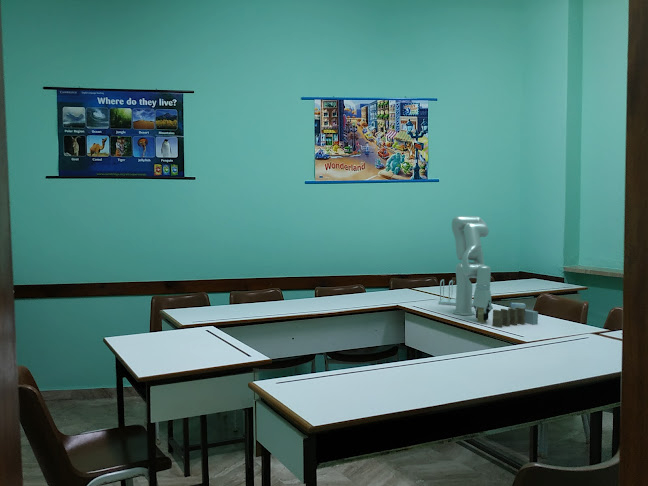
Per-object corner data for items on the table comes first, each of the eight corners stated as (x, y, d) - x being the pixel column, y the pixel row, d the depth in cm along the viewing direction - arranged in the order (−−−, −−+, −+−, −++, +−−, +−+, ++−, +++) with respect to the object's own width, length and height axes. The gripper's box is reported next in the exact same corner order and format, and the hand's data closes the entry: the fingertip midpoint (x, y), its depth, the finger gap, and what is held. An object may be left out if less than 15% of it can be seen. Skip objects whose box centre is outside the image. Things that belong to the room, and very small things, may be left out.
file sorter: (479, 303, 426) (480, 280, 425) (477, 307, 409) (477, 283, 408) (442, 300, 434) (442, 278, 433) (438, 304, 417) (439, 281, 416)
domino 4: (514, 325, 349) (515, 309, 348) (507, 324, 353) (508, 308, 352) (517, 325, 350) (517, 309, 349) (509, 323, 354) (510, 308, 353)
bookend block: (532, 324, 353) (533, 312, 352) (518, 321, 361) (519, 309, 361) (537, 324, 355) (538, 311, 354) (523, 320, 363) (524, 309, 363)
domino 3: (507, 326, 345) (507, 310, 345) (500, 324, 350) (500, 309, 349) (509, 326, 346) (510, 310, 346) (502, 324, 351) (503, 308, 350)
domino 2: (499, 327, 342) (500, 311, 342) (492, 325, 347) (493, 309, 346) (502, 327, 343) (502, 311, 343) (494, 325, 348) (495, 309, 347)
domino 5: (522, 324, 352) (522, 308, 351) (514, 323, 356) (515, 307, 356) (524, 324, 353) (525, 308, 352) (517, 322, 357) (517, 307, 357)
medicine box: (523, 317, 375) (524, 303, 375) (525, 318, 371) (525, 304, 370) (510, 316, 376) (510, 302, 376) (511, 318, 372) (512, 303, 371)
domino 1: (483, 323, 354) (484, 307, 354) (477, 321, 359) (477, 306, 358) (486, 322, 355) (487, 307, 355) (479, 321, 360) (480, 305, 359)
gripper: (467, 285, 361) (466, 317, 362) (489, 289, 346) (488, 322, 347) (476, 285, 365) (475, 316, 366) (499, 289, 350) (497, 321, 351)
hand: (481, 318), depth 357 cm, fingers closed on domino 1, 5 cm apart
